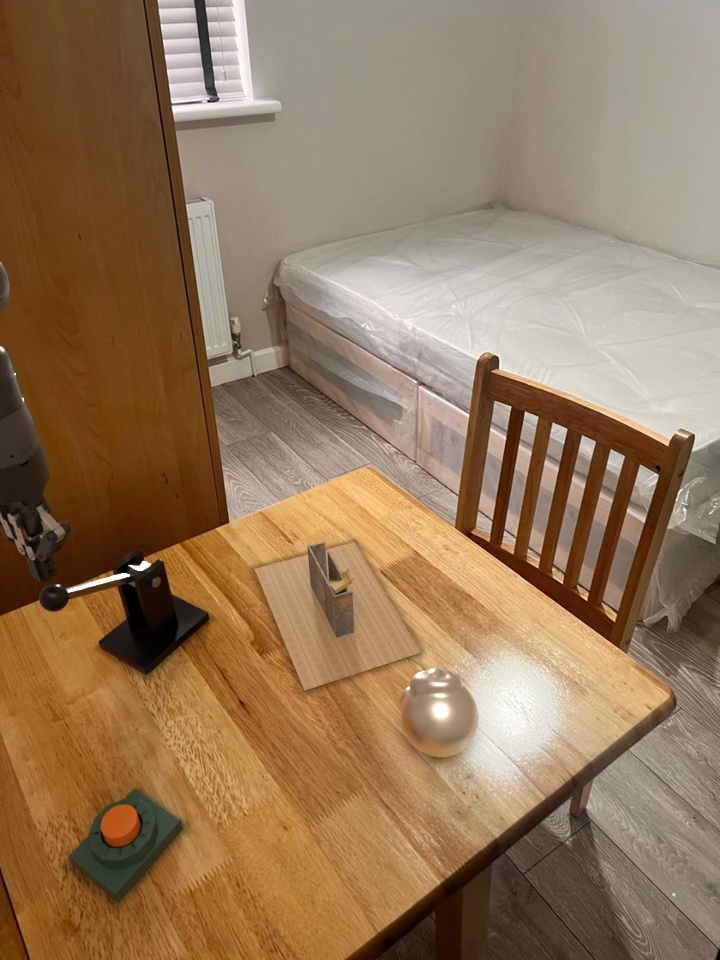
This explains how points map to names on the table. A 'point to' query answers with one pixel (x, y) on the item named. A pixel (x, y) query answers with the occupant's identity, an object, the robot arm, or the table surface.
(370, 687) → the table surface
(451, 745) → the silver rounded lump
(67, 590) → the lever
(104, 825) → the button
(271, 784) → the table surface
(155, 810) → the button box
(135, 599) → the bracket
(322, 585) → the architectural model on board
